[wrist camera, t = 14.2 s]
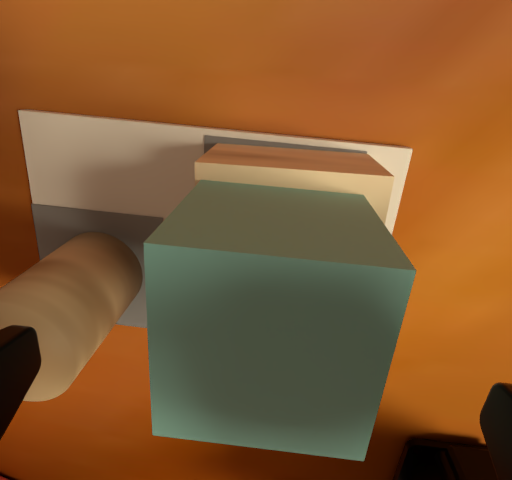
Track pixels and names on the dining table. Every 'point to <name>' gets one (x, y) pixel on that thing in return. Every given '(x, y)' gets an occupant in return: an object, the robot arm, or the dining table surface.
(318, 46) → the dining table surface
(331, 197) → the teal cube
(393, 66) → the dining table surface
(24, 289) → the oak dowel
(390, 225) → the cream grey flat board
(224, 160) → the maple base block
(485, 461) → the robot arm
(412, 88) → the dining table surface
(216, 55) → the dining table surface
